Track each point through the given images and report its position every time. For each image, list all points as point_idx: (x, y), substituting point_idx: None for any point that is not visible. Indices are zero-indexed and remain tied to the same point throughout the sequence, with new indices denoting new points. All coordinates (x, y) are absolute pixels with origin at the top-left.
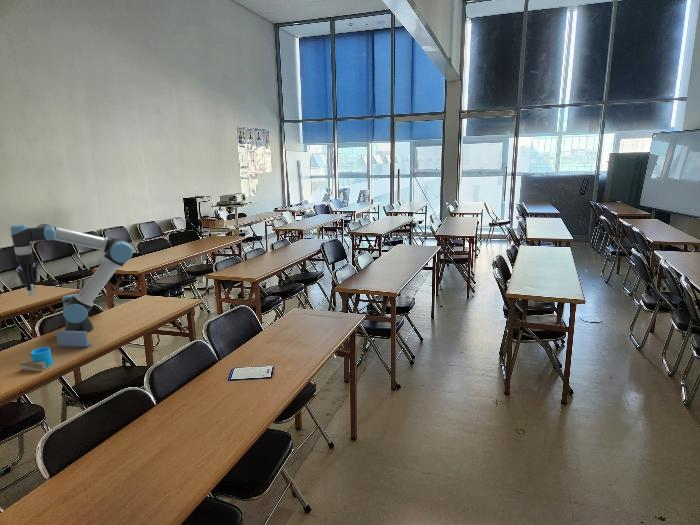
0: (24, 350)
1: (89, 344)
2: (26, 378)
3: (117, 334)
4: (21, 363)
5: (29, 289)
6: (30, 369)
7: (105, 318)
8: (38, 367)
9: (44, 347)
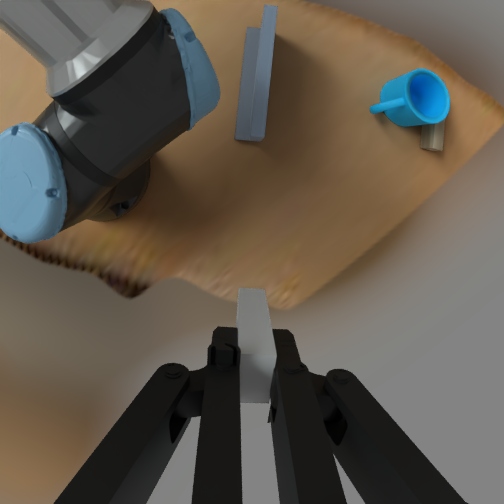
0: (289, 249)
1: (253, 31)
2: (463, 108)
3: None
4: (441, 145)
5: (292, 336)
6: None
7: None
8: None
9: (407, 94)
